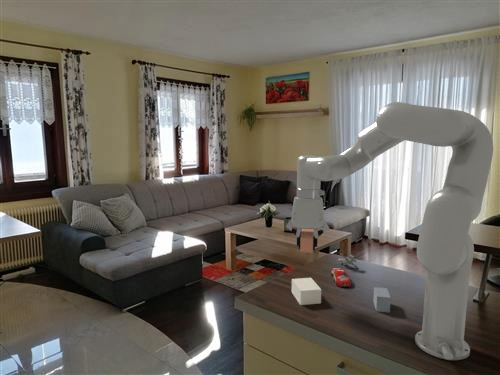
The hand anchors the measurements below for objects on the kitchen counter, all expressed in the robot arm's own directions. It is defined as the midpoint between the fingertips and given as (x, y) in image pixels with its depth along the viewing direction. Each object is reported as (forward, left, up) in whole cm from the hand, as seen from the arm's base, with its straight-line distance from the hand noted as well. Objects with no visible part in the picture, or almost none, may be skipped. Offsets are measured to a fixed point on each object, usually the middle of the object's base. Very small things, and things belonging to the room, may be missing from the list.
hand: (306, 247), depth 120 cm
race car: (+17, -12, -18) cm, 27 cm away
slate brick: (-2, -24, -17) cm, 30 cm away
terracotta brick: (+1, 0, 0) cm, 1 cm away
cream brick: (0, 0, -18) cm, 18 cm away
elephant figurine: (+32, -15, -18) cm, 39 cm away
